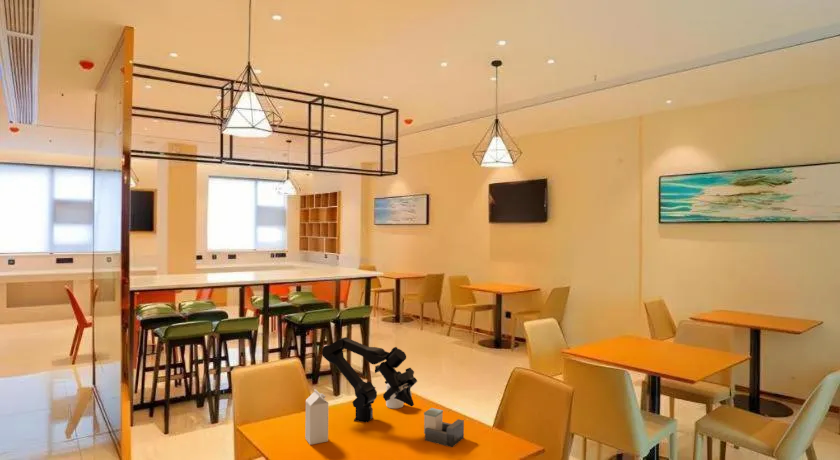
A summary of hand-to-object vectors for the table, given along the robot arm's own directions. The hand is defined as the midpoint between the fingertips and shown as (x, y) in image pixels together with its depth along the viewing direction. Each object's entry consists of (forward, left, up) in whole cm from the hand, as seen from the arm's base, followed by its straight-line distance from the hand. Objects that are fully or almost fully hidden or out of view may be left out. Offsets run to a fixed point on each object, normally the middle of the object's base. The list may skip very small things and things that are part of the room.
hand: (412, 405), depth 204 cm
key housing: (+14, -4, -10) cm, 18 cm away
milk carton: (-34, -18, -11) cm, 40 cm away
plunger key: (+9, -3, -9) cm, 13 cm away
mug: (-14, +27, -11) cm, 32 cm away
